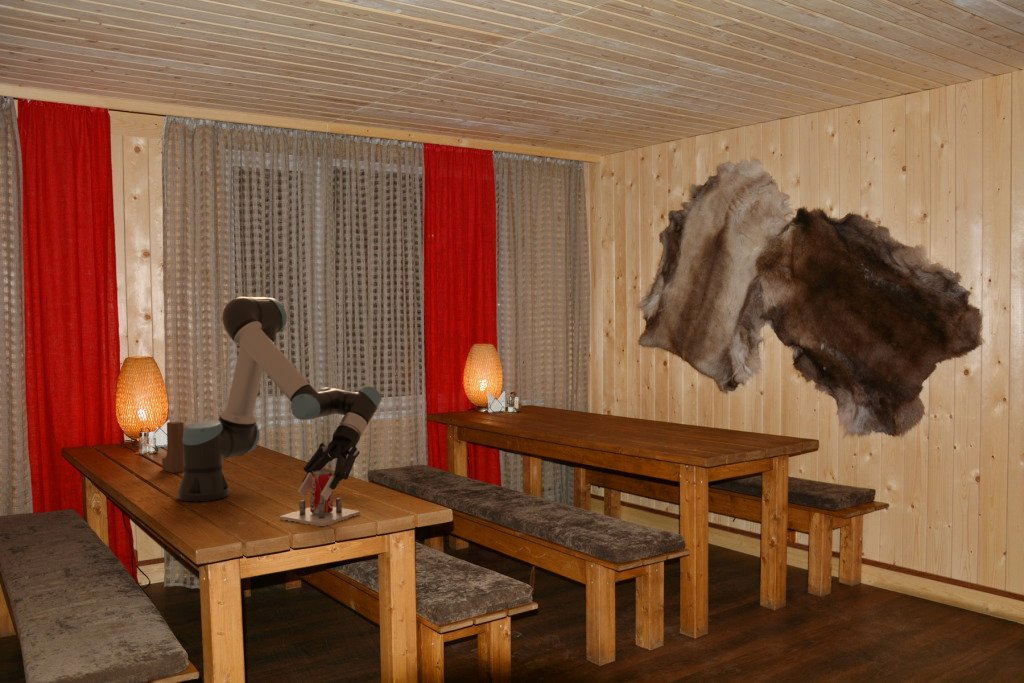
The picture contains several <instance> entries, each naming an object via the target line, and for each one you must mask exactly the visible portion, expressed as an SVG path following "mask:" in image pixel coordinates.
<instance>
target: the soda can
mask: <svg viewBox="0 0 1024 683" xmlns="http://www.w3.org/2000/svg"><path fill="white" fill-rule="evenodd" d="M312 472H313V471H312ZM331 476H334V475H333V473H332V471H331V470H327V469H321V470H318V471H314V472H313V474H312V476H311V487H310V503H309V504H310V506H309V507H310V511H311V512H312V513H313V514H314V515H319V503H324V504H325V515H328V514H330V513H331V512H332V511H333V507H334V502H333V501H334V490H333V491H332V493H331V494H330V496H329V498H328V500H324V498H323V497H322V496H321V495H320V494H321V493H322V491H323V489H324V487H325V486H326V484H327V482H328V480H329V479H330V477H331Z"/></svg>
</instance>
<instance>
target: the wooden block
mask: <svg viewBox="0 0 1024 683" xmlns="http://www.w3.org/2000/svg"><path fill="white" fill-rule="evenodd" d="M184 426H185V424H184V422H182V421H179V420H176V421H168V422H166V442H167V445H166V446H167V447H166V449H167V450H166V456H165V457H162V459H161V462H162V463H161V464H162V467H161V468H162V469H161V470H163V471H164V472H169V473H171V474H177V472H179V473H184V466H183V442H182V439H183V430H184V428H185V427H184Z"/></svg>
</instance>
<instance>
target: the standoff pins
mask: <svg viewBox="0 0 1024 683" xmlns="http://www.w3.org/2000/svg"><path fill="white" fill-rule="evenodd" d="M342 500H343V499H342V497H337V498H335V507H336V513H342V508H343V507H342V506H343V502H342ZM298 504H299V510H300V515H305V508H306V500H304V499H301V500H299V503H298ZM319 518H320V519H323V518H325V504H324V503H319Z"/></svg>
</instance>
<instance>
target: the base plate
mask: <svg viewBox="0 0 1024 683" xmlns="http://www.w3.org/2000/svg"><path fill="white" fill-rule="evenodd" d="M360 513H361V514H362V510H357V509H350V508H344V507H342V513H336V506H333V511H332V512H331V513H330V514H328V515H325V518H323V519H320V518H319V515H314V514H313V513H312V512H311V511H310V506H309V507H305V515H300V509H299V510H296V511H292V512H290V513H286V514H283V515H282V514H281V515H280V516H279V520H280V519H282V520H281V521H285V520H288V521H287V522H291V521H294V522H293V523H296V522H300V523H299V524H302V523H305V524H304V525H308V524H310V525H309V526H314V525H316V526H315V527H319V526H325V527H327V526H326V525H328V526H330V525H329V524H331V523H334V524H336V523H335V522H337V523H339V522H338V521H340V522H342V521H341V520H343V521H345V520H344V519H346V520H348V519H347V518H349V517H352V516H354V515H357V514H360ZM352 518H353V517H352ZM349 519H350V518H349ZM331 525H332V524H331Z"/></svg>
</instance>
